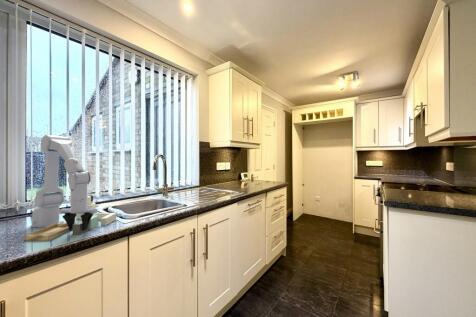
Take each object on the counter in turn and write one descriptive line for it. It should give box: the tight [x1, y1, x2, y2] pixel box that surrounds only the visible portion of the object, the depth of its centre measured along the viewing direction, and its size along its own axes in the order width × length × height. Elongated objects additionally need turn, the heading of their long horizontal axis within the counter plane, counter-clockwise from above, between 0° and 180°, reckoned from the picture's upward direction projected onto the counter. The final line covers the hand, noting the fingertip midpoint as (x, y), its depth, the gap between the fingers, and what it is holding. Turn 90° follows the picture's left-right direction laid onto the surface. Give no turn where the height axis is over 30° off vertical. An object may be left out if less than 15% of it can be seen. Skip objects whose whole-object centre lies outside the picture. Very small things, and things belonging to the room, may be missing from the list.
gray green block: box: [72, 215, 100, 236], centre depth 94 cm, size 5×12×5 cm, turn 5°
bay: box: [79, 212, 117, 226], centre depth 105 cm, size 12×10×4 cm
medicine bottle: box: [75, 194, 97, 220], centre depth 114 cm, size 7×7×12 cm
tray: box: [23, 222, 70, 242], centre depth 89 cm, size 10×16×2 cm, turn 5°
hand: (78, 229), depth 90 cm, fingers open, 5 cm apart
